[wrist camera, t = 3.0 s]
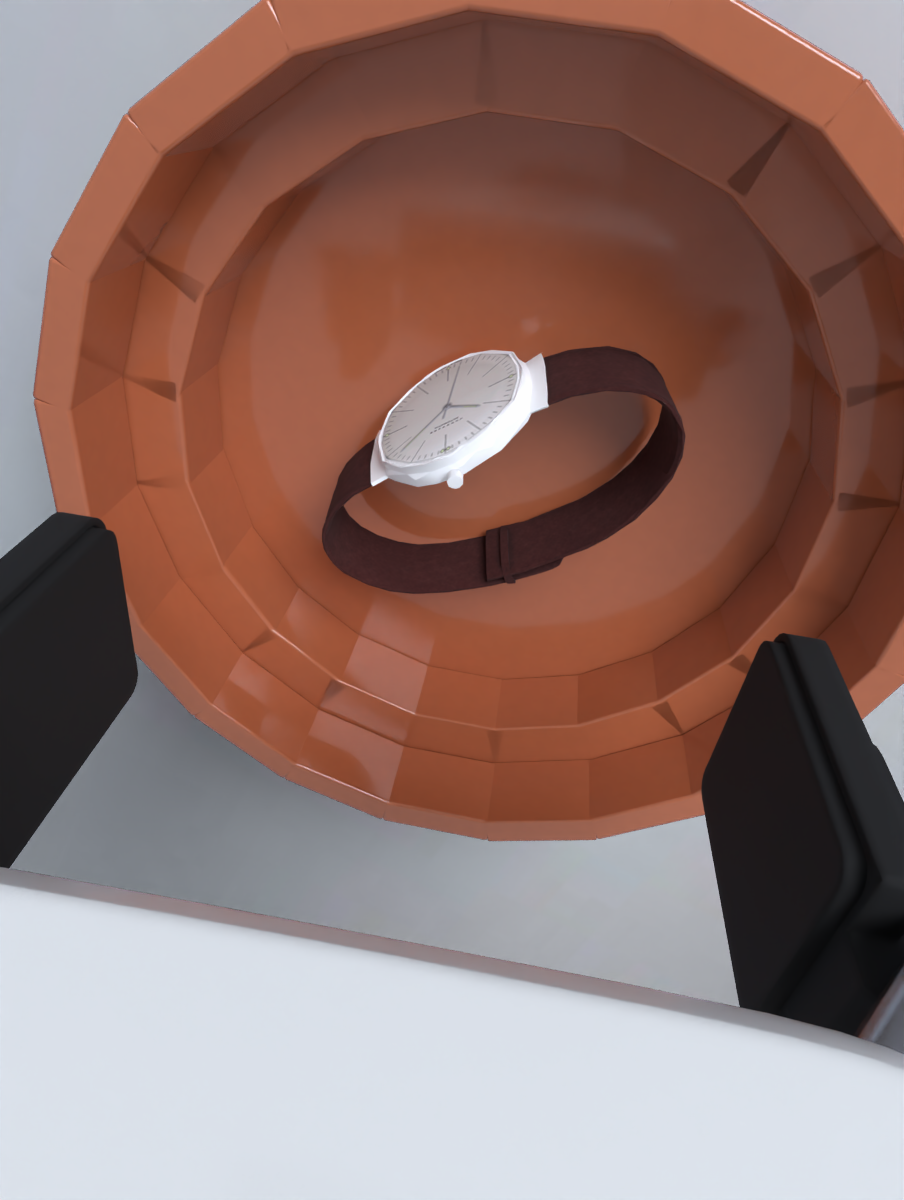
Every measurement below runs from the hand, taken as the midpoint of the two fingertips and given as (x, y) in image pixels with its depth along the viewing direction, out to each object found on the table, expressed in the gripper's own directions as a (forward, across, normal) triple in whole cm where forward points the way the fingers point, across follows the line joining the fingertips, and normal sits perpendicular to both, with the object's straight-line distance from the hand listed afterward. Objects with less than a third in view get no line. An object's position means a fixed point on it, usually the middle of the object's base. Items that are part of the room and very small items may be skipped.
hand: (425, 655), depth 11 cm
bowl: (+8, -1, 0) cm, 8 cm away
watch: (+7, -1, 0) cm, 7 cm away
